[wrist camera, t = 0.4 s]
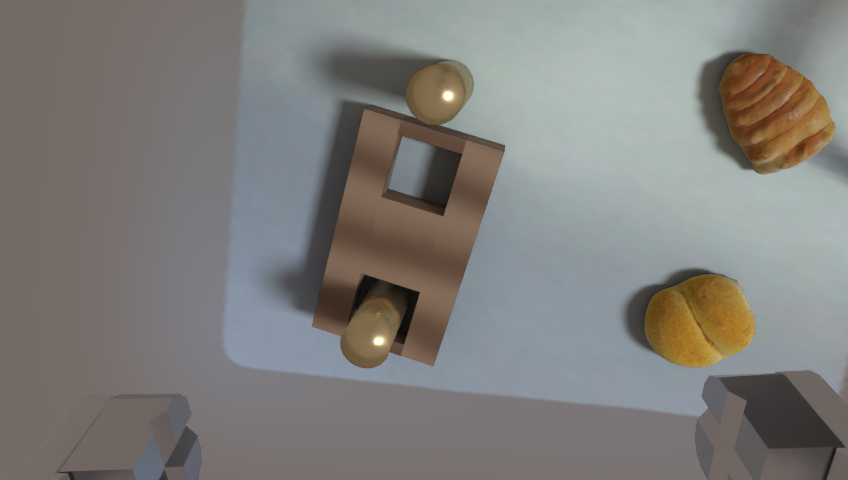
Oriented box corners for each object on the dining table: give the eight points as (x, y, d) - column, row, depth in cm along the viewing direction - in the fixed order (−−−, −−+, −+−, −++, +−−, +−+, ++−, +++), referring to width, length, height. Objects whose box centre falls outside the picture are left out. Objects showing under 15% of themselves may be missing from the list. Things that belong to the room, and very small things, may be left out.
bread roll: (627, 301, 55) (634, 320, 51) (724, 257, 52) (740, 274, 48) (666, 373, 56) (677, 397, 53) (762, 333, 54) (781, 355, 50)
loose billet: (433, 54, 50) (414, 57, 41) (479, 68, 50) (471, 75, 41) (420, 101, 52) (399, 115, 42) (465, 114, 51) (454, 132, 42)
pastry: (691, 88, 48) (705, 91, 45) (768, 30, 46) (790, 28, 43) (757, 178, 50) (776, 188, 46) (835, 125, 48) (861, 131, 44)
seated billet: (374, 271, 57) (346, 317, 48) (414, 284, 57) (394, 332, 48) (364, 307, 59) (335, 359, 49) (403, 320, 58) (382, 374, 49)
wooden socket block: (372, 104, 52) (364, 108, 49) (505, 145, 52) (504, 151, 49) (321, 312, 59) (311, 326, 57) (437, 350, 59) (433, 366, 56)
